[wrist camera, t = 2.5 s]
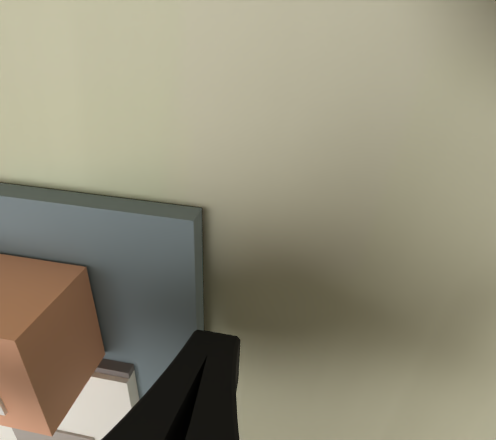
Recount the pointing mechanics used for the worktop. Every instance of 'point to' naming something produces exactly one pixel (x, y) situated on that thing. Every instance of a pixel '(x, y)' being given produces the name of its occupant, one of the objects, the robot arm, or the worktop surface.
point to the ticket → (92, 406)
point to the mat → (118, 265)
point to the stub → (44, 341)
